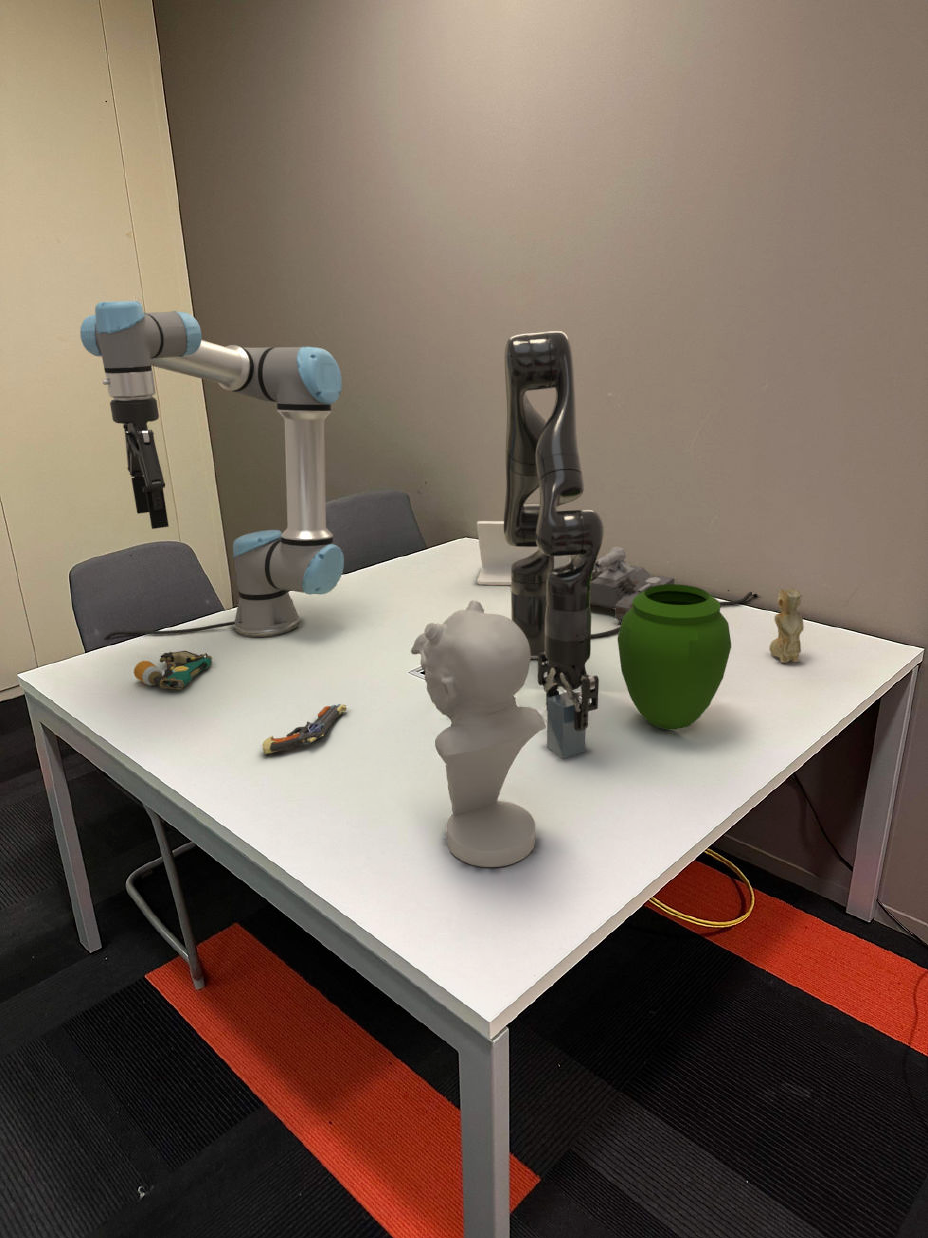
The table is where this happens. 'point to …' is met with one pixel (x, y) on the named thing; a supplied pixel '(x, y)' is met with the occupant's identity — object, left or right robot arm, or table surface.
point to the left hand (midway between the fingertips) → (152, 519)
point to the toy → (620, 582)
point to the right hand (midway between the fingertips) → (566, 720)
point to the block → (563, 727)
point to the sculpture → (788, 626)
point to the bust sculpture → (481, 729)
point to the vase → (673, 653)
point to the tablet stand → (502, 554)
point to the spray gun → (172, 669)
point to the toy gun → (305, 731)
